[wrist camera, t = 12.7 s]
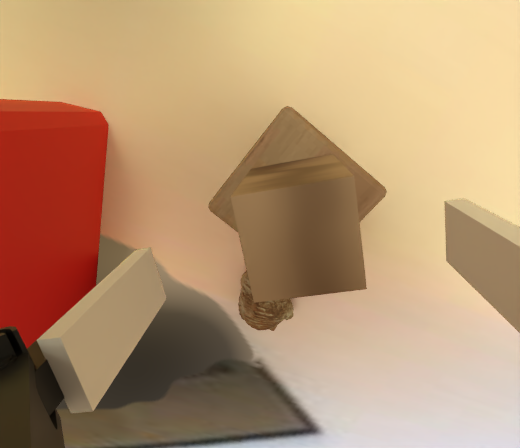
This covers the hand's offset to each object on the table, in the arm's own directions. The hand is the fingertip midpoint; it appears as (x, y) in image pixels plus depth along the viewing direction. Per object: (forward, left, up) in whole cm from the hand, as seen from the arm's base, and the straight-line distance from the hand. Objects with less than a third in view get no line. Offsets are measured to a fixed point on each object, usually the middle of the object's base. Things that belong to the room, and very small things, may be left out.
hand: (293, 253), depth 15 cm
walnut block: (0, 0, -11) cm, 11 cm away
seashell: (-7, -18, -31) cm, 37 cm away
